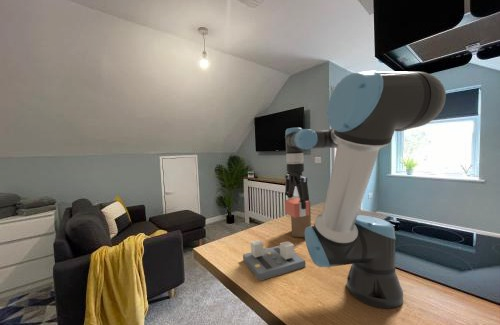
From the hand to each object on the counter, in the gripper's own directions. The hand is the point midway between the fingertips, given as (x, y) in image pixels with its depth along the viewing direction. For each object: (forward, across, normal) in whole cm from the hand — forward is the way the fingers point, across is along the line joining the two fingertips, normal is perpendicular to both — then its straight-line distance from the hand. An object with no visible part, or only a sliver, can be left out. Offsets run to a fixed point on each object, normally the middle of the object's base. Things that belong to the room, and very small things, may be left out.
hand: (297, 213), depth 93 cm
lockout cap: (0, 0, 0) cm, 0 cm away
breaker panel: (+17, -4, +15) cm, 23 cm away
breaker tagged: (+14, 0, +20) cm, 25 cm away
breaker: (+14, -7, +10) cm, 19 cm away
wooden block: (+17, +15, -12) cm, 26 cm away
